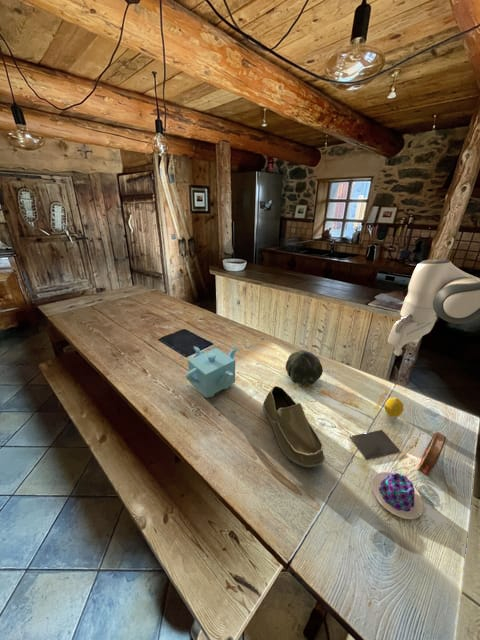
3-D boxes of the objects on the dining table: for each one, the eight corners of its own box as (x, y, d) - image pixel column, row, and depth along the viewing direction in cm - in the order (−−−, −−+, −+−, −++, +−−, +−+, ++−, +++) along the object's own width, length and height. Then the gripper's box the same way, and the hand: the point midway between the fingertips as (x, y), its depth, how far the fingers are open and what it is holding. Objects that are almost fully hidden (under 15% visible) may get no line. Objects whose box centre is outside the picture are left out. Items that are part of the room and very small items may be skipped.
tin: (428, 444, 84) (437, 424, 81) (439, 450, 82) (449, 430, 79) (414, 475, 75) (423, 455, 71) (426, 483, 73) (437, 463, 69)
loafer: (299, 480, 73) (304, 454, 68) (252, 406, 98) (254, 384, 93) (332, 465, 77) (338, 440, 72) (279, 398, 102) (281, 377, 97)
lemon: (382, 419, 93) (388, 401, 90) (381, 408, 98) (387, 391, 95) (400, 423, 92) (407, 406, 88) (398, 412, 96) (405, 395, 93)
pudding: (368, 468, 76) (372, 456, 74) (415, 480, 73) (421, 468, 71) (374, 511, 66) (379, 498, 64) (429, 528, 63) (436, 515, 61)
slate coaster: (381, 430, 89) (381, 429, 88) (399, 451, 82) (400, 450, 81) (349, 437, 86) (350, 436, 86) (365, 459, 79) (366, 457, 79)
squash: (314, 355, 120) (298, 336, 112) (334, 375, 107) (318, 357, 99) (291, 375, 121) (273, 359, 113) (308, 398, 109) (289, 382, 100)
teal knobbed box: (185, 400, 100) (181, 368, 94) (195, 370, 117) (193, 341, 110) (234, 403, 99) (235, 371, 93) (238, 372, 116) (238, 343, 110)
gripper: (410, 323, 74) (397, 364, 80) (444, 308, 84) (430, 346, 90) (388, 315, 79) (377, 354, 85) (423, 302, 89) (411, 338, 95)
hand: (405, 350), depth 87 cm, fingers open, 8 cm apart
